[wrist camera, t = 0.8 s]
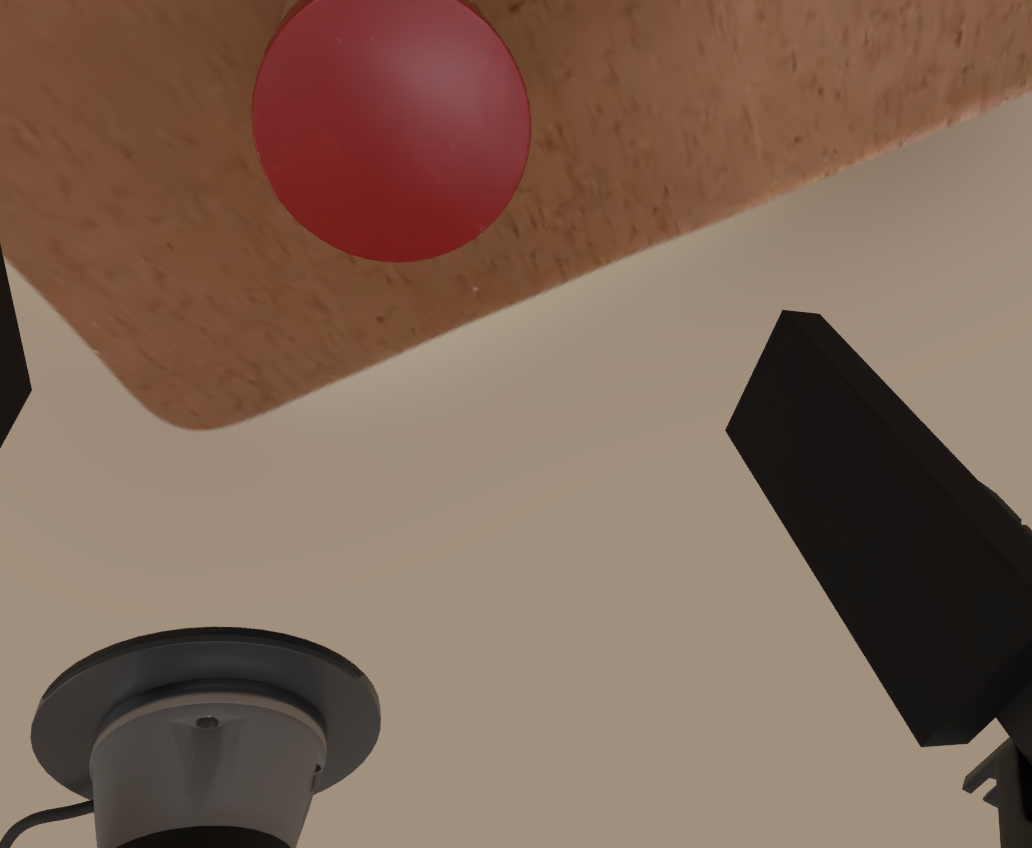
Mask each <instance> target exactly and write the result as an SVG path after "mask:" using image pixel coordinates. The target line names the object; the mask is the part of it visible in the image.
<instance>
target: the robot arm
mask: <svg viewBox="0 0 1032 848" xmlns="http://www.w3.org/2000/svg"><path fill="white" fill-rule="evenodd" d="M31 391H32V388H31V384H30V378H29V374H28V369H27V365H26V360H25V356H24V351H23V346H22V342H21V337H20V332H19V328H18V323H17V319H16V315H15V309H14V305H13V301H12V296H11V291H10V287H9V282H8V277H7V273H6V268H5V263H4V259H3V254H2V250H1V245H0V448H1V446H2V444H3V442H4V440H5V439H6V437H7V435H8V433H9V431H10V429H11V428H12V426H13V424H14V422H15V420H16V418H17V416H18V415H19V413H20V411H21V409H22V407H23V405H24V403H25V402H26V400H27V398H28V396H29V394H30V393H31ZM725 431H726V432H727V434H728V436H729V437H730V439H731V441H732V442H733V444H734V445H735V447H736V449H737V450H738V452H739V454H740V455H741V457H742V458H743V460H744V462H745V463H746V465H747V466H748V468H749V470H750V471H751V473H752V475H753V476H754V478H755V479H756V481H757V483H758V484H759V486H760V487H761V489H762V491H763V492H764V494H765V496H766V497H767V499H768V500H769V502H770V504H771V505H772V507H773V509H774V510H775V512H776V513H777V515H778V516H779V518H780V520H781V522H782V523H783V524H784V526H785V528H786V530H787V531H788V533H789V534H790V536H791V538H792V539H793V541H794V542H795V544H796V546H797V547H798V549H799V551H800V552H801V554H802V555H803V557H804V559H805V560H806V562H807V564H808V565H809V567H810V568H811V570H812V572H813V573H814V575H815V576H816V578H817V580H818V581H819V583H820V584H821V586H822V588H823V589H824V591H825V593H826V594H827V596H828V598H829V599H830V601H831V602H832V604H833V605H834V607H835V609H836V610H837V612H838V614H839V615H840V617H841V619H842V620H843V622H844V623H845V625H846V627H847V628H848V630H849V631H850V633H851V635H852V636H853V638H854V640H855V641H856V643H857V644H858V646H859V648H860V649H861V651H862V652H863V654H864V656H865V657H866V659H867V661H868V662H869V664H870V666H871V667H872V669H873V670H874V671H875V674H876V675H877V677H878V678H879V680H880V682H881V683H882V685H883V687H884V688H885V690H886V691H887V693H888V695H889V696H890V698H891V699H892V701H893V703H894V704H895V706H896V708H897V709H898V711H899V712H900V714H901V716H902V717H903V719H904V721H905V722H906V724H907V725H908V727H909V729H910V730H911V732H912V733H913V735H914V737H915V738H916V740H917V741H918V743H919V745H920V746H921V747H928V746H942V745H957V744H968V743H969V742H970V741H971V740H972V739H973V738H974V737H975V736H976V735H977V734H978V733H980V732H981V731H982V730H983V729H984V728H985V727H986V726H987V725H988V724H989V723H990V722H991V721H992V720H993V719H994V718H995V717H996V718H997V719H998V721H999V722H1000V724H1001V725H1002V726H1003V728H1004V729H1005V731H1006V732H1007V733H1008V735H1009V736H1010V737H1009V738H1008V739H1007V740H1006V741H1005V742H1004V743H1002V744H1001V745H1000V746H999V747H998V748H997V749H996V750H995V751H994V752H993V753H991V754H990V755H989V756H988V757H987V758H986V759H985V760H984V761H983V762H981V763H980V764H979V765H978V766H977V767H976V768H975V769H974V770H973V771H971V772H970V773H969V774H968V775H967V776H966V777H965V780H964V784H963V790H965V791H967V792H968V793H972V792H973V791H974V790H975V789H977V788H978V787H979V786H980V785H981V784H982V783H984V782H985V781H986V780H987V779H988V778H992V779H996V781H997V785H996V786H995V787H994V788H992V789H991V790H990V791H989V792H988V793H987V794H986V796H984V798H983V800H984V801H985V802H988V803H989V804H991V805H993V806H995V807H997V808H998V812H999V827H1000V842H1001V848H1032V530H1031V529H1030V528H1029V527H1028V526H1027V525H1022V524H1021V519H1020V518H1019V517H1018V516H1017V514H1016V513H1014V511H1013V510H1012V509H1011V508H1010V507H1009V506H1008V505H1007V504H1006V503H1005V502H1004V501H1003V500H1002V499H1001V498H1000V497H999V496H998V495H997V494H996V493H995V492H993V491H992V490H991V489H989V488H988V487H986V486H985V485H984V484H982V483H981V482H980V481H978V480H977V479H976V478H975V477H974V476H973V475H972V474H971V473H970V472H969V470H967V468H966V467H965V466H964V465H963V464H962V463H961V462H960V461H959V460H958V459H957V458H956V457H955V456H954V455H953V454H952V453H951V452H950V451H949V449H948V448H947V447H946V446H945V445H944V444H943V443H942V442H941V441H940V440H939V439H938V438H937V437H936V436H935V435H934V434H933V433H932V432H931V431H930V429H928V428H927V426H926V425H925V424H924V423H923V422H922V421H921V420H920V419H919V418H918V417H917V416H916V415H915V414H914V413H913V412H912V411H911V410H910V409H909V408H908V406H907V405H906V404H905V403H904V402H903V401H902V400H901V399H900V398H899V397H898V396H897V395H896V394H895V393H894V392H893V391H892V390H891V389H890V388H889V386H888V385H887V384H886V383H885V382H884V381H883V380H882V379H881V378H880V377H879V376H878V375H877V374H876V373H875V372H874V371H873V370H872V369H871V367H870V366H869V365H868V364H867V363H866V362H865V361H864V360H863V359H862V358H861V357H860V356H859V355H858V354H857V353H856V352H855V351H854V350H853V349H852V348H851V347H850V345H849V344H848V343H847V342H846V341H845V340H844V339H843V338H842V337H841V336H840V335H839V334H838V333H837V332H836V331H835V330H834V329H833V328H832V326H830V324H829V323H828V322H827V321H826V320H825V319H824V318H823V317H822V316H821V315H820V314H816V313H806V312H797V311H788V310H782V313H781V315H780V317H779V319H778V321H777V323H776V325H775V327H774V329H773V331H772V334H771V335H770V338H769V340H768V342H767V344H766V346H765V348H764V350H763V352H762V354H761V357H760V359H759V361H758V363H757V365H756V367H755V369H754V371H753V373H752V376H751V377H750V380H749V382H748V384H747V386H746V388H745V390H744V392H743V394H742V396H741V399H740V400H739V403H738V405H737V407H736V409H735V411H734V413H733V415H732V417H731V419H730V422H729V423H728V426H727V428H726V430H725ZM326 751H327V728H326V723H325V721H324V718H323V717H322V715H321V713H320V712H319V711H318V710H317V709H316V708H315V707H314V706H313V705H312V704H311V703H310V702H308V701H307V700H305V699H304V698H302V697H300V696H299V695H297V694H295V693H292V692H290V691H288V690H285V689H283V688H280V687H276V686H273V685H269V684H265V683H260V682H255V681H248V680H239V679H202V680H192V681H185V682H179V683H174V684H170V685H165V686H162V687H158V688H155V689H152V690H149V691H146V692H144V693H141V694H139V695H137V696H135V697H133V698H131V699H129V700H127V701H125V702H124V703H122V704H121V705H119V706H118V707H116V708H115V709H114V710H113V711H112V712H110V713H109V715H108V716H107V717H106V718H105V719H104V720H103V722H102V723H101V725H100V727H99V729H98V732H97V735H96V739H95V743H94V746H93V750H92V754H91V758H90V764H89V767H90V777H91V780H92V785H93V797H94V800H90V801H86V802H83V803H79V804H75V805H71V806H66V807H61V808H56V809H49V810H45V811H41V812H37V813H35V814H32V815H29V816H27V817H26V818H24V819H22V820H20V821H19V822H17V823H16V824H14V825H13V826H12V827H11V828H10V829H9V830H8V831H7V833H6V834H5V835H4V837H3V838H2V840H1V842H0V848H10V847H11V845H12V843H13V842H14V840H15V839H16V838H17V837H18V836H19V835H20V834H21V833H22V832H23V831H25V830H26V829H28V828H30V827H33V826H35V825H38V824H42V823H47V822H52V821H58V820H64V819H69V818H73V817H77V816H81V815H85V814H88V813H93V812H94V815H95V828H96V839H97V848H296V845H297V842H298V839H299V836H300V833H301V830H302V828H303V825H304V821H305V819H306V816H307V813H308V810H309V807H310V804H311V800H312V797H313V793H314V790H316V789H317V788H319V787H320V783H321V774H322V771H323V767H324V765H325V762H326Z"/></svg>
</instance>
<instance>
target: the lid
mask: <svg viewBox="0 0 1032 848" xmlns="http://www.w3.org/2000/svg"><path fill="white" fill-rule="evenodd" d="M252 127H253V136H254V141H255V146H256V151H257V155H258V158H259V160H260V163H261V166H262V169H263V172H264V174H265V176H266V178H267V180H268V182H269V184H270V186H271V188H272V189H273V191H274V192H275V194H276V195H277V197H278V199H279V200H280V202H281V203H282V204H283V205H284V207H285V208H286V209H287V210H288V211H289V213H290V214H291V215H292V216H293V217H294V218H295V219H296V220H297V221H298V222H299V223H300V224H301V225H302V226H304V227H305V228H306V229H307V230H308V231H310V232H311V233H312V234H314V235H315V236H316V237H318V238H319V239H321V240H323V241H324V242H326V243H328V244H329V245H331V246H333V247H335V248H337V249H339V250H342V251H344V252H346V253H349V254H351V255H355V256H358V257H362V258H365V259H370V260H376V261H382V262H398V263H400V262H414V261H420V260H425V259H431V258H434V257H437V256H440V255H443V254H446V253H449V252H451V251H453V250H455V249H457V248H460V247H462V246H463V245H465V244H466V243H468V242H470V241H471V240H473V239H474V238H476V237H477V236H478V235H480V234H481V233H482V232H483V231H485V230H486V229H487V228H488V227H489V226H490V225H491V224H492V223H493V222H494V221H495V220H496V219H497V218H498V217H499V215H500V214H501V213H502V211H503V210H504V209H505V207H506V206H507V205H508V203H509V202H510V200H511V198H512V197H513V195H514V193H515V191H516V190H517V187H518V185H519V183H520V180H521V178H522V176H523V173H524V169H525V166H526V162H527V159H528V153H529V147H530V140H531V117H530V107H529V101H528V97H527V92H526V88H525V84H524V82H523V79H522V76H521V73H520V71H519V68H518V66H517V64H516V62H515V60H514V58H513V56H512V55H511V53H510V51H509V49H508V48H507V46H506V45H505V44H504V42H503V41H502V39H501V38H500V36H499V35H498V34H497V32H496V31H495V29H494V28H493V26H492V25H491V24H490V22H489V21H488V20H487V18H486V17H485V16H484V15H483V14H482V13H481V12H480V11H479V10H478V9H477V8H476V6H474V5H473V4H472V3H471V2H470V1H468V0H299V1H298V2H297V3H296V4H295V5H294V6H293V7H292V8H291V9H289V11H288V12H287V13H286V15H285V16H284V17H283V19H282V20H281V21H280V23H279V24H278V25H277V27H276V29H275V31H274V33H273V35H272V37H271V39H270V40H269V43H268V45H267V48H266V51H265V54H264V56H263V59H262V62H261V65H260V68H259V71H258V74H257V78H256V82H255V87H254V92H253V101H252Z"/></svg>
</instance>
